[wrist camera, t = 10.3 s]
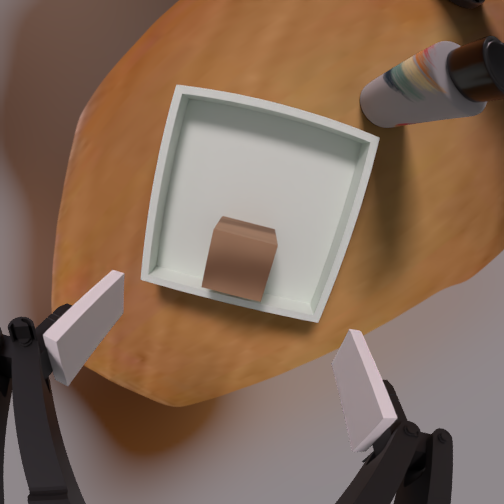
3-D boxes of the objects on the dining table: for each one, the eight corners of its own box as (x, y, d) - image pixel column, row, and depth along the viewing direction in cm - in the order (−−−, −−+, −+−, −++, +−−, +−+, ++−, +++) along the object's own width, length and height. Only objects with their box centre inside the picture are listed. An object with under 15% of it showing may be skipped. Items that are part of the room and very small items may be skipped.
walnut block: (222, 215, 28) (213, 229, 23) (274, 229, 29) (278, 245, 23) (211, 264, 30) (201, 287, 25) (261, 277, 30) (260, 301, 25)
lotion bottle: (410, 114, 26) (543, 95, 7) (378, 137, 27) (514, 129, 8) (382, 74, 24) (498, 13, 5) (348, 96, 26) (459, 30, 7)
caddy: (189, 95, 26) (176, 84, 22) (362, 140, 27) (379, 137, 23) (155, 263, 33) (140, 279, 28) (311, 301, 34) (317, 322, 29)
